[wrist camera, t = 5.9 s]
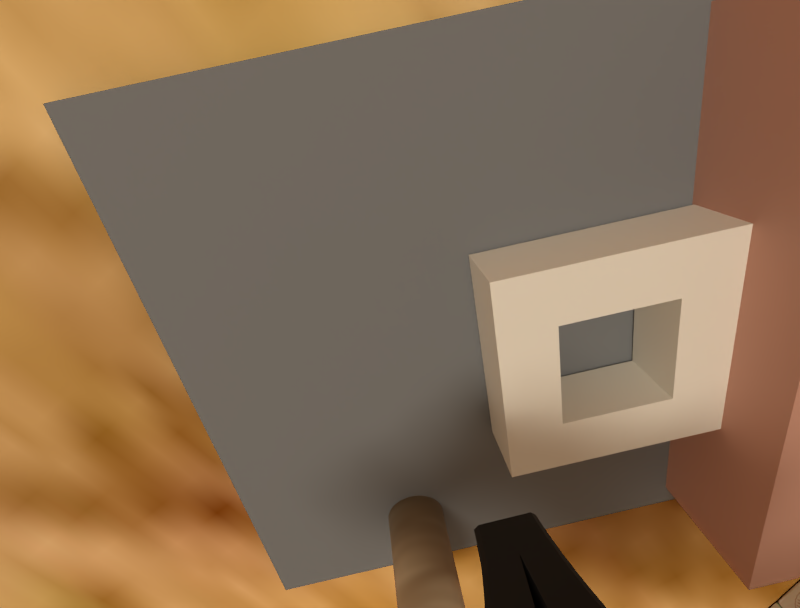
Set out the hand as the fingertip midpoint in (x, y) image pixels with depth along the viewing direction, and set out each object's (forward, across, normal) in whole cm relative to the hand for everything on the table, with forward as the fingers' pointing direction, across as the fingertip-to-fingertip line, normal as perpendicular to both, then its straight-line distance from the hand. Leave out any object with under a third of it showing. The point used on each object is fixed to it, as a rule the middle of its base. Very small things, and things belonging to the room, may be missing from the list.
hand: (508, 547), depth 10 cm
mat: (+8, -2, 0) cm, 9 cm away
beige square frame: (+8, -6, 0) cm, 9 cm away
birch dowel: (+8, +3, +8) cm, 11 cm away
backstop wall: (+8, -10, 0) cm, 13 cm away
